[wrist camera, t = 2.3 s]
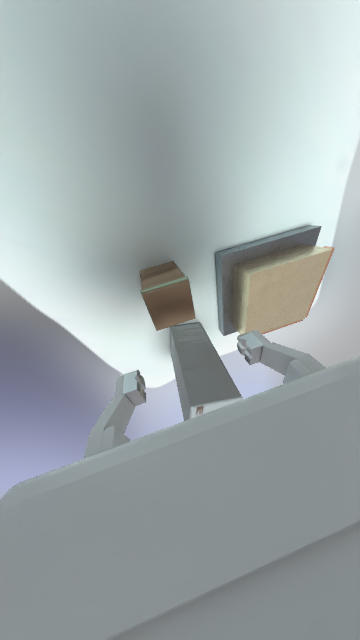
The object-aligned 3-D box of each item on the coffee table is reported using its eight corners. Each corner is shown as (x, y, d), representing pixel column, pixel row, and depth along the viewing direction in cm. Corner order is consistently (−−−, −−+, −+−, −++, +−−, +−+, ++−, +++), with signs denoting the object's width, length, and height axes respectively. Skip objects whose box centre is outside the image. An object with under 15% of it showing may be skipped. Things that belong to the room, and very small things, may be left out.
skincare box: (197, 350, 34) (233, 428, 22) (166, 355, 33) (186, 442, 20) (201, 320, 30) (251, 398, 17) (165, 324, 28) (191, 414, 16)
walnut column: (138, 270, 21) (141, 294, 15) (173, 260, 22) (189, 279, 16) (150, 301, 25) (156, 331, 18) (180, 291, 25) (196, 318, 19)
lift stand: (214, 252, 23) (236, 263, 18) (309, 225, 24) (352, 228, 19) (219, 330, 32) (233, 350, 28) (285, 307, 34) (310, 323, 29)
